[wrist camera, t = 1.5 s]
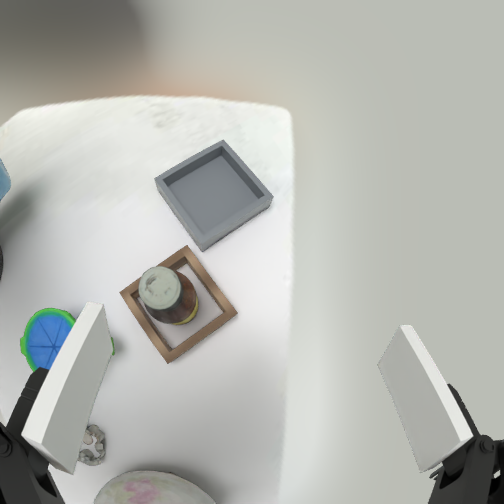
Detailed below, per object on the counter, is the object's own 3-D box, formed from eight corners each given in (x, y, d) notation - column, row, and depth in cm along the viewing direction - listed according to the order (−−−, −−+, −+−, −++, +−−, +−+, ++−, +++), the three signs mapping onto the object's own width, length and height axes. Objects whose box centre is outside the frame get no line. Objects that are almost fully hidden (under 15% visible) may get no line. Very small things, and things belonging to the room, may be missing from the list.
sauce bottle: (154, 292, 44) (116, 258, 25) (191, 280, 46) (178, 238, 27) (167, 332, 43) (134, 327, 24) (205, 320, 44) (200, 306, 25)
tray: (157, 190, 49) (154, 178, 45) (222, 152, 53) (223, 139, 49) (202, 252, 47) (201, 244, 43) (268, 207, 51) (273, 196, 47)
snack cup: (123, 317, 42) (101, 311, 33) (124, 383, 39) (102, 394, 30) (44, 311, 40) (11, 303, 30) (44, 371, 37) (11, 375, 27)
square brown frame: (126, 296, 43) (119, 292, 39) (188, 252, 47) (187, 244, 43) (171, 361, 41) (167, 363, 38) (235, 315, 45) (237, 313, 41)
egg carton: (107, 427, 37) (99, 434, 33) (105, 462, 34) (98, 471, 31) (54, 408, 36) (44, 412, 32) (54, 442, 33) (44, 448, 30)
